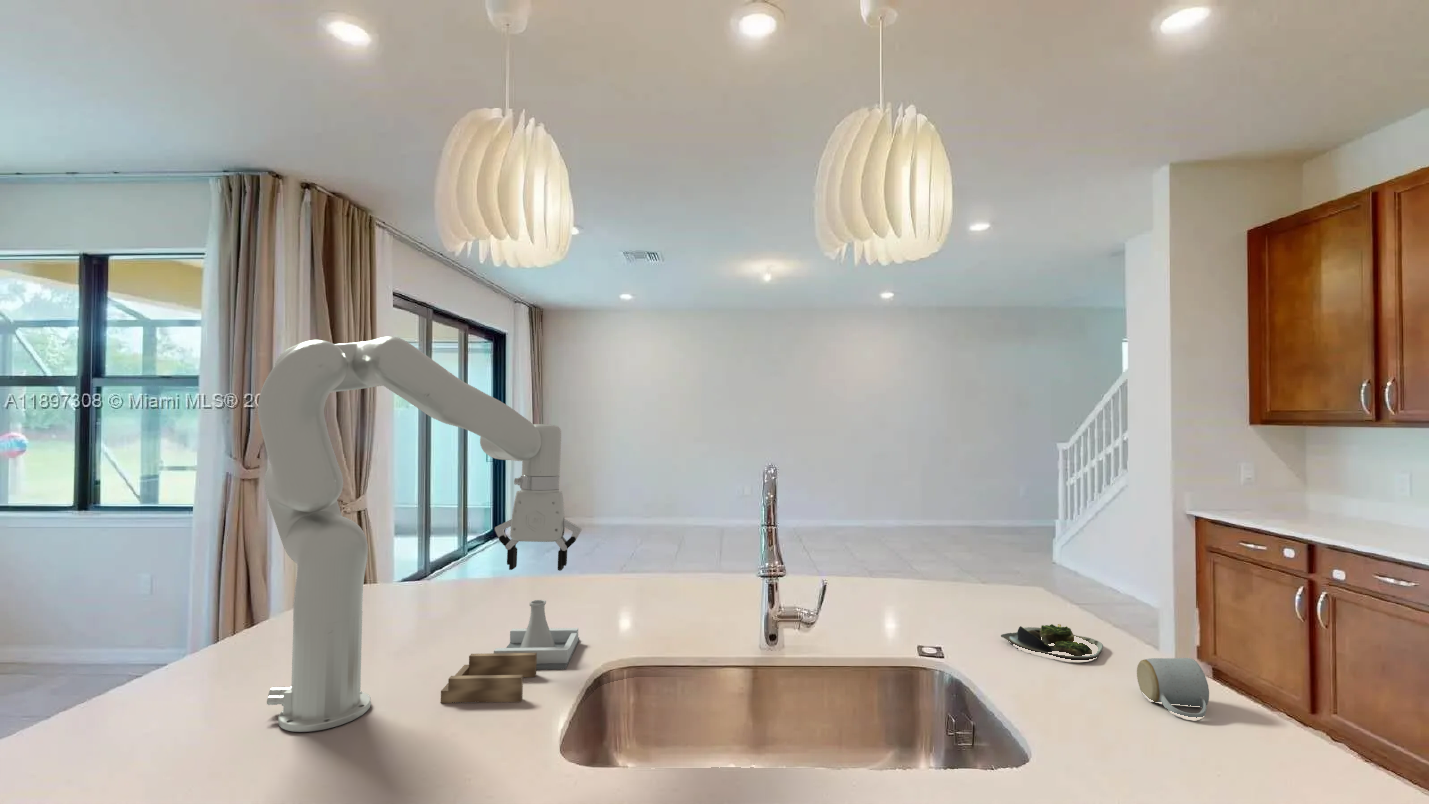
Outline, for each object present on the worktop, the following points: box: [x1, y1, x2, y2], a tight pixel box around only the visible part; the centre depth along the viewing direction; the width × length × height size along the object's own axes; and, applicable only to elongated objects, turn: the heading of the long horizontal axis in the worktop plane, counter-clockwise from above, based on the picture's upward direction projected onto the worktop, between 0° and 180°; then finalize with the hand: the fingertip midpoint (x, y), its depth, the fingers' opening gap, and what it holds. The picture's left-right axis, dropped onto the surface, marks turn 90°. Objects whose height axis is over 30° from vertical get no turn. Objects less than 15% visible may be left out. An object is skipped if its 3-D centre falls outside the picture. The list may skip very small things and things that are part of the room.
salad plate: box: [1000, 623, 1104, 660], centre depth 134 cm, size 19×18×5 cm
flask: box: [520, 599, 556, 648], centre depth 127 cm, size 7×7×10 cm
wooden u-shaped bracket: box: [440, 652, 537, 704], centre depth 110 cm, size 13×11×4 cm
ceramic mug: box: [1136, 657, 1210, 718], centre depth 104 cm, size 11×8×8 cm
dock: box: [493, 627, 580, 671], centre depth 127 cm, size 14×16×3 cm
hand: (536, 568), depth 127 cm, fingers open, 9 cm apart
